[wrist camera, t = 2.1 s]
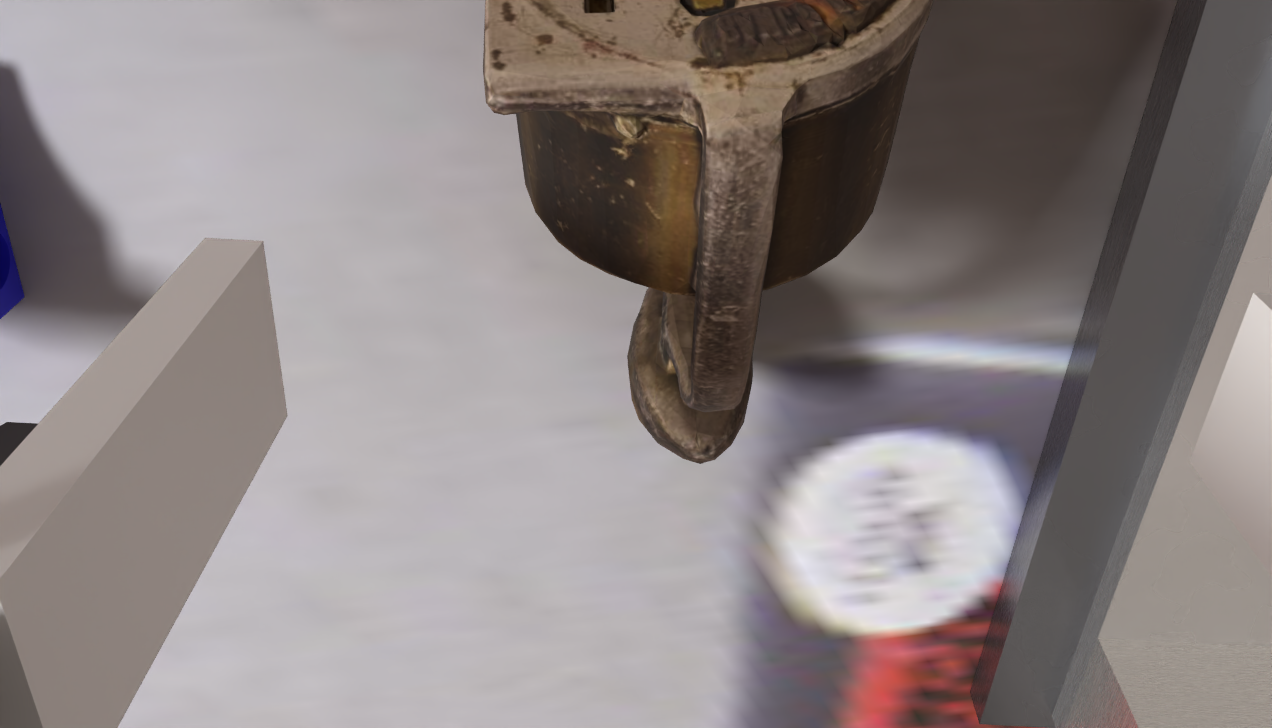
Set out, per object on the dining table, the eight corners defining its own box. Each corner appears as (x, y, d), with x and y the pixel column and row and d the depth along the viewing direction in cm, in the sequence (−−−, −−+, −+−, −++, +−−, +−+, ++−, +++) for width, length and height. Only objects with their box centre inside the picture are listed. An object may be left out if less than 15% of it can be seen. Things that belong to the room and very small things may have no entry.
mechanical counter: (837, -293, 20) (967, -289, 11) (937, 304, 26) (1069, 599, 17) (467, -170, 21) (330, -83, 12) (649, 372, 27) (641, 678, 19)
